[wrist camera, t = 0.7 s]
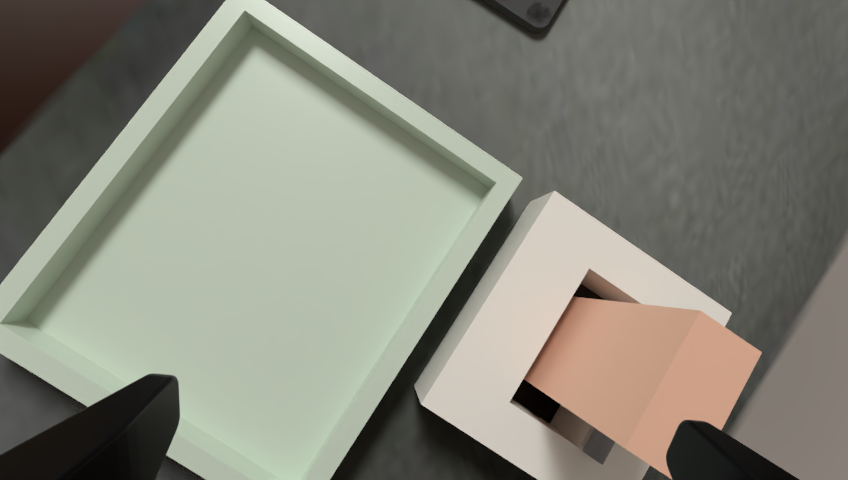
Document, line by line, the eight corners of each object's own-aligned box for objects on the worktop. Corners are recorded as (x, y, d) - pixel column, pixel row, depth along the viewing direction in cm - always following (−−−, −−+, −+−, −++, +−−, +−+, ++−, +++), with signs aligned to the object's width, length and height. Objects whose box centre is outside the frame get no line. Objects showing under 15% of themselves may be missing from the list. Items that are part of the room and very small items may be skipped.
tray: (303, 506, 23) (294, 534, 20) (9, 324, 22) (-37, 330, 20) (508, 187, 25) (522, 177, 23) (252, 12, 25) (239, -18, 22)
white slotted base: (580, 493, 25) (627, 541, 20) (413, 385, 24) (423, 410, 20) (684, 308, 26) (748, 314, 22) (529, 201, 26) (563, 186, 21)
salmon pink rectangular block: (549, 396, 25) (689, 490, 14) (512, 371, 25) (624, 448, 14) (594, 319, 26) (761, 352, 15) (559, 295, 25) (700, 310, 14)
